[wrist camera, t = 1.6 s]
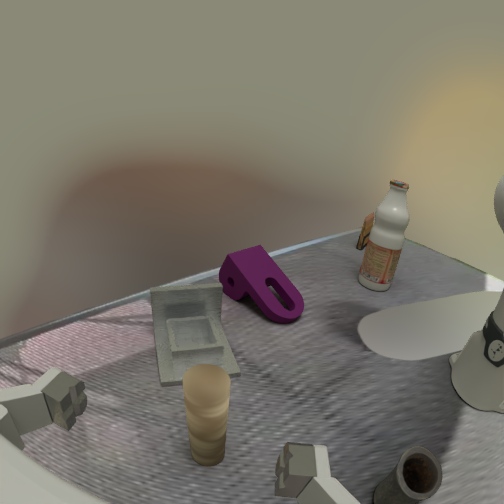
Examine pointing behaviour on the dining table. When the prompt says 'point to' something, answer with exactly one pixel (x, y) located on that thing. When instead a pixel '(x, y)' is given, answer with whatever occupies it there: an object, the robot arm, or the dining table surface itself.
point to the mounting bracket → (260, 283)
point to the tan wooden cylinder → (207, 411)
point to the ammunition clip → (365, 232)
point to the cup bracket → (189, 330)
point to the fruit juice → (385, 239)
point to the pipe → (411, 478)
